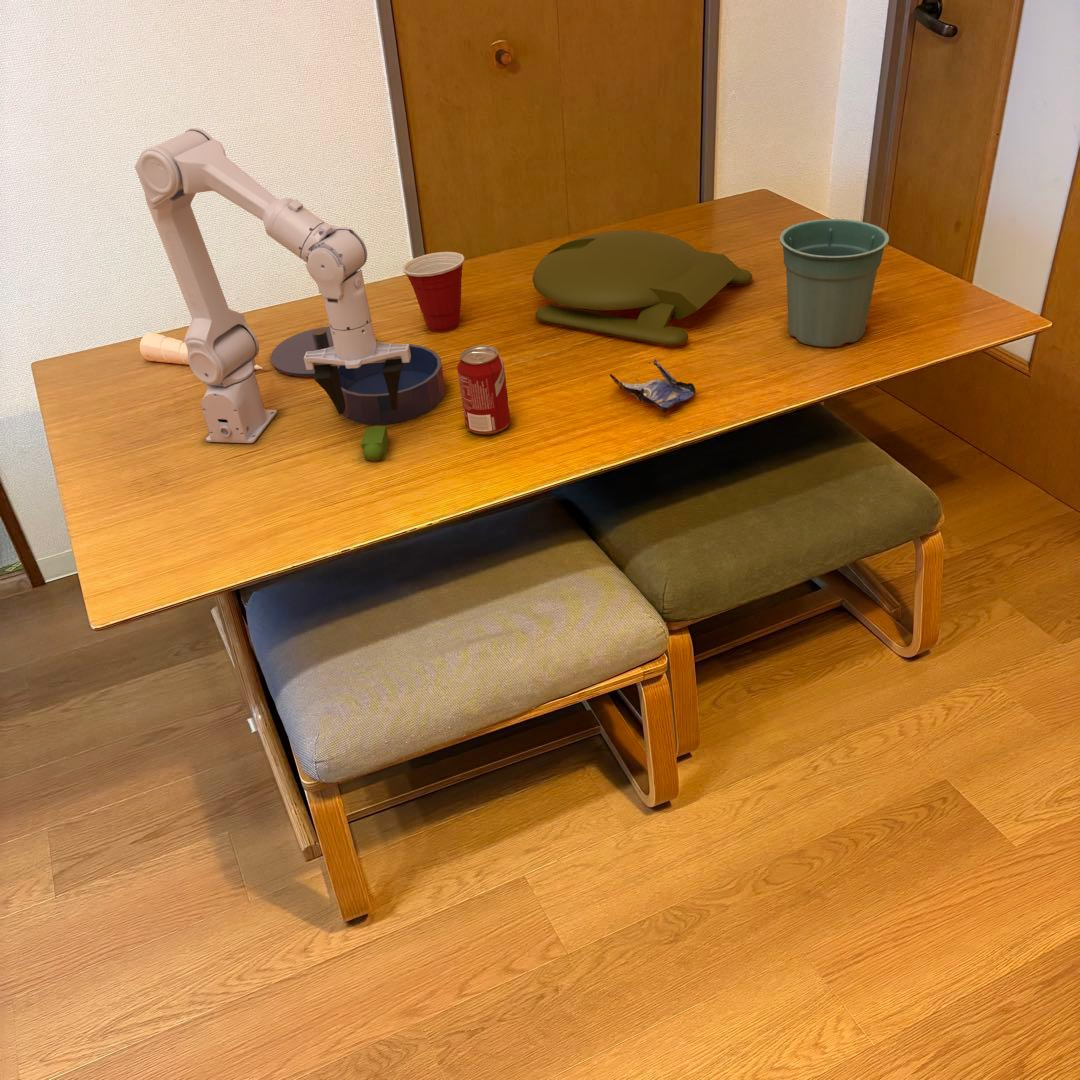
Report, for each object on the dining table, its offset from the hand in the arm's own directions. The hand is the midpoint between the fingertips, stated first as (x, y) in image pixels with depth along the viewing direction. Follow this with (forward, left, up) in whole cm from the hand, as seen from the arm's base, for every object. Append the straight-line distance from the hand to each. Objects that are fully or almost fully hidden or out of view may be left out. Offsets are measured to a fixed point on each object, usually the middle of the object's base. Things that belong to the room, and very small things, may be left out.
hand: (368, 408), depth 156 cm
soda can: (+8, -15, -7) cm, 18 cm away
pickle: (0, 0, -7) cm, 7 cm away
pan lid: (+30, +20, -6) cm, 37 cm away
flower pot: (+41, -64, -7) cm, 76 cm away
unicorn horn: (+26, +41, -7) cm, 49 cm away
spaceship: (+53, -30, -7) cm, 61 cm away
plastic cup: (+42, +2, -7) cm, 43 cm away
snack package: (+17, -39, -7) cm, 43 cm away
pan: (+16, +3, -7) cm, 18 cm away
